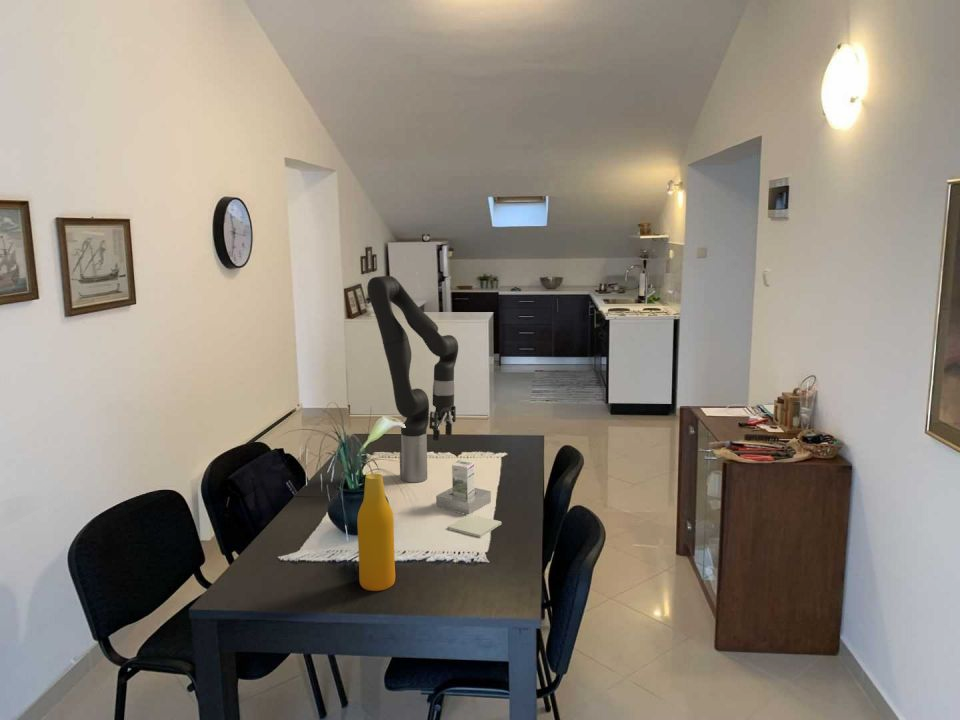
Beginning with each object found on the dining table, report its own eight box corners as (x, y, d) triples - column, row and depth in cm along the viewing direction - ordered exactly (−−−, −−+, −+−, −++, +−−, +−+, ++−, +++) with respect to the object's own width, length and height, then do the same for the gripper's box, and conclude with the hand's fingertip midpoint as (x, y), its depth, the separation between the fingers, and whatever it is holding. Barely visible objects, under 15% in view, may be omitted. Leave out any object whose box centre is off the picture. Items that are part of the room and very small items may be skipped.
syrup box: (475, 503, 244) (475, 461, 242) (467, 509, 239) (467, 466, 237) (460, 500, 247) (459, 459, 244) (452, 506, 242) (451, 464, 239)
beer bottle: (356, 592, 185) (352, 482, 180) (362, 575, 194) (358, 470, 189) (393, 591, 185) (390, 482, 180) (397, 574, 194) (394, 470, 189)
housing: (436, 507, 241) (436, 495, 240) (458, 495, 252) (458, 484, 251) (469, 515, 234) (468, 503, 233) (490, 502, 245) (490, 491, 244)
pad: (447, 528, 224) (447, 526, 223) (469, 516, 233) (469, 513, 233) (480, 537, 217) (480, 535, 217) (501, 524, 227) (501, 521, 227)
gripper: (444, 388, 264) (443, 432, 266) (423, 394, 251) (422, 440, 254) (462, 390, 260) (461, 435, 263) (442, 397, 248) (441, 443, 250)
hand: (442, 437), depth 258 cm, fingers open, 8 cm apart
